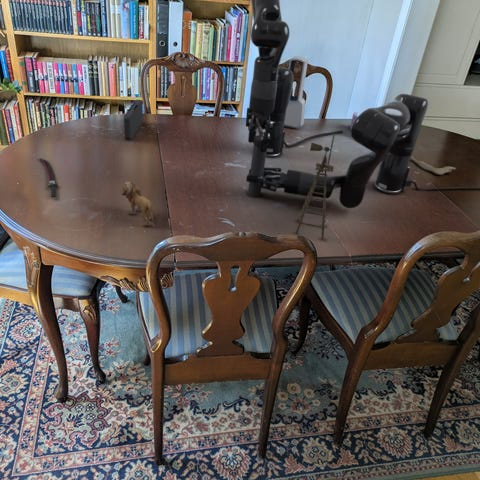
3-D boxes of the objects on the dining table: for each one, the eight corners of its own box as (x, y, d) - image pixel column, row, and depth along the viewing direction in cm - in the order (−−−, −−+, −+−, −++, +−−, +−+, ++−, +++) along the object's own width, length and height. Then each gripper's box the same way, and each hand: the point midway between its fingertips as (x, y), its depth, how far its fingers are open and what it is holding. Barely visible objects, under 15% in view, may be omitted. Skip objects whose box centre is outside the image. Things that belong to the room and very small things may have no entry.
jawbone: (446, 180, 181) (448, 175, 179) (397, 163, 191) (398, 159, 190) (455, 172, 186) (456, 167, 185) (406, 156, 197) (407, 152, 195)
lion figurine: (118, 210, 138) (116, 182, 133) (132, 204, 141) (131, 177, 137) (151, 229, 130) (150, 201, 126) (165, 223, 134) (165, 195, 129)
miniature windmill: (323, 240, 134) (345, 141, 118) (294, 234, 135) (312, 135, 119) (324, 224, 142) (346, 129, 126) (297, 219, 143) (314, 124, 127)
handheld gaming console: (136, 121, 202) (136, 98, 197) (143, 121, 202) (142, 98, 197) (123, 140, 183) (122, 115, 178) (130, 141, 183) (130, 116, 178)
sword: (61, 197, 141) (61, 193, 140) (50, 198, 139) (50, 194, 139) (49, 160, 164) (48, 156, 163) (39, 160, 163) (39, 157, 162)
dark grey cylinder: (253, 198, 153) (260, 143, 142) (245, 192, 155) (251, 138, 145) (263, 195, 155) (270, 141, 145) (254, 189, 158) (261, 136, 147)
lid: (271, 145, 145) (271, 139, 144) (259, 147, 143) (260, 141, 142) (261, 140, 148) (262, 134, 147) (250, 142, 146) (250, 136, 145)
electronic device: (303, 125, 218) (315, 58, 202) (300, 130, 212) (311, 61, 196) (278, 120, 221) (287, 54, 205) (273, 125, 215) (283, 56, 199)
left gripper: (241, 87, 141) (236, 139, 150) (263, 102, 131) (257, 157, 140) (262, 86, 144) (257, 137, 153) (286, 100, 134) (278, 154, 143)
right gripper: (303, 163, 154) (252, 156, 156) (300, 181, 142) (245, 173, 144) (299, 184, 158) (250, 176, 160) (296, 203, 146) (243, 194, 148)
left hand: (257, 146), depth 146 cm, fingers open, 7 cm apart
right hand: (248, 174), depth 152 cm, fingers closed on dark grey cylinder, 4 cm apart
